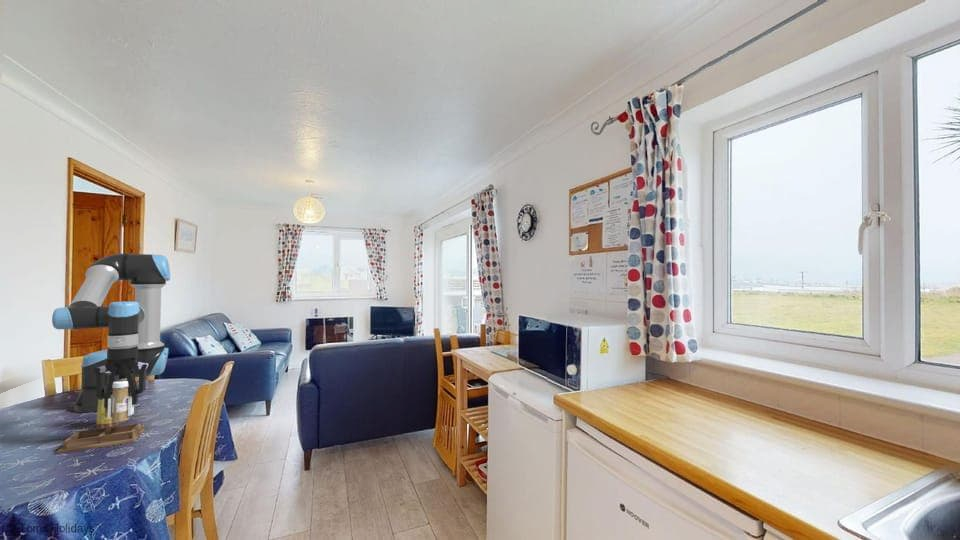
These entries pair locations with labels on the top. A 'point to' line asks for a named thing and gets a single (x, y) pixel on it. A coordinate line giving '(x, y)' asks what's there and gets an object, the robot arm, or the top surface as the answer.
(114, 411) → the sprinkles bottle
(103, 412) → the sauce bottle
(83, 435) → the slot rack
